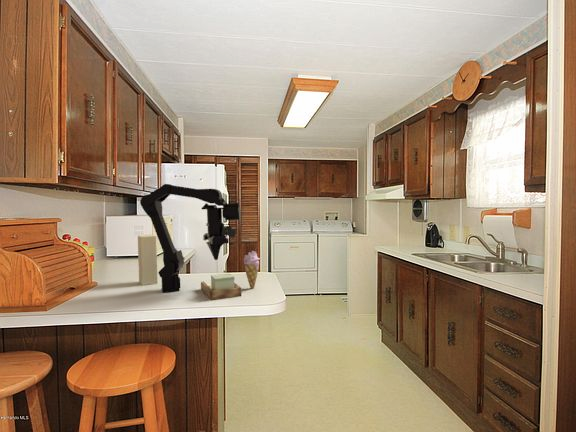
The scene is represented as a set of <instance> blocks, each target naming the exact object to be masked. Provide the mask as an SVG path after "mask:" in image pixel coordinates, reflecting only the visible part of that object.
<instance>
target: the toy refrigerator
mask: <svg viewBox="0 0 576 432" xmlns="http://www.w3.org/2000/svg"><path fill="white" fill-rule="evenodd" d="M157 252H158V251H157V235H155V234H139V235H137V254H138V255H137V256H138V257H137V258H138V262H137V263H138V281H139V284H140V285H141V286H149V285H157V284H159V283H158V282H159V281H158V279H159V278H158V255H157Z"/></svg>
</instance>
